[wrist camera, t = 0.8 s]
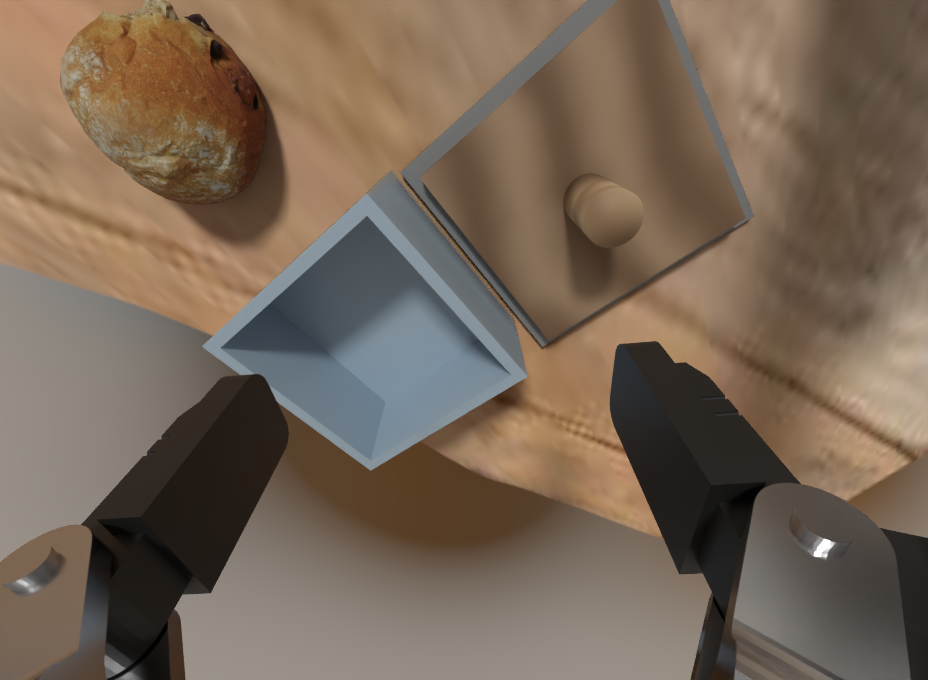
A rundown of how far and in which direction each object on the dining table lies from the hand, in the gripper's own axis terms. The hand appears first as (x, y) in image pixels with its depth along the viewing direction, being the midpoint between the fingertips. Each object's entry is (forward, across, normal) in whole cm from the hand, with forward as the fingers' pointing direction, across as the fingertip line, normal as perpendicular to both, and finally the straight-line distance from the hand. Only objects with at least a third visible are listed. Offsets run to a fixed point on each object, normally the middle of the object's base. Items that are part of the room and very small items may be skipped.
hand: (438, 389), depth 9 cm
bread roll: (+22, +16, -7) cm, 28 cm away
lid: (+22, -9, +1) cm, 23 cm away
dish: (+22, +7, +8) cm, 24 cm away
